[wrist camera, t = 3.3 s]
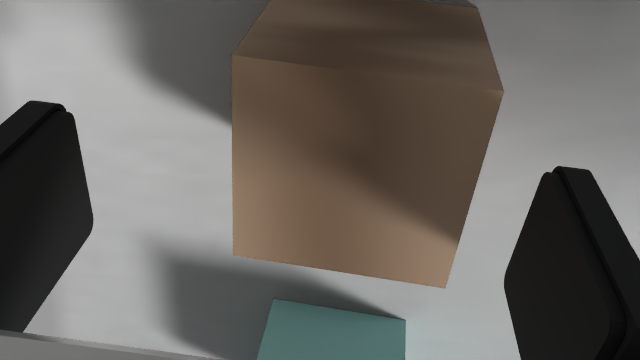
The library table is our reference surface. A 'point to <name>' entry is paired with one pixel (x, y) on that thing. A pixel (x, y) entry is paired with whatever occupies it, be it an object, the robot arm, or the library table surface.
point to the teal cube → (329, 334)
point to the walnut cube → (360, 134)
